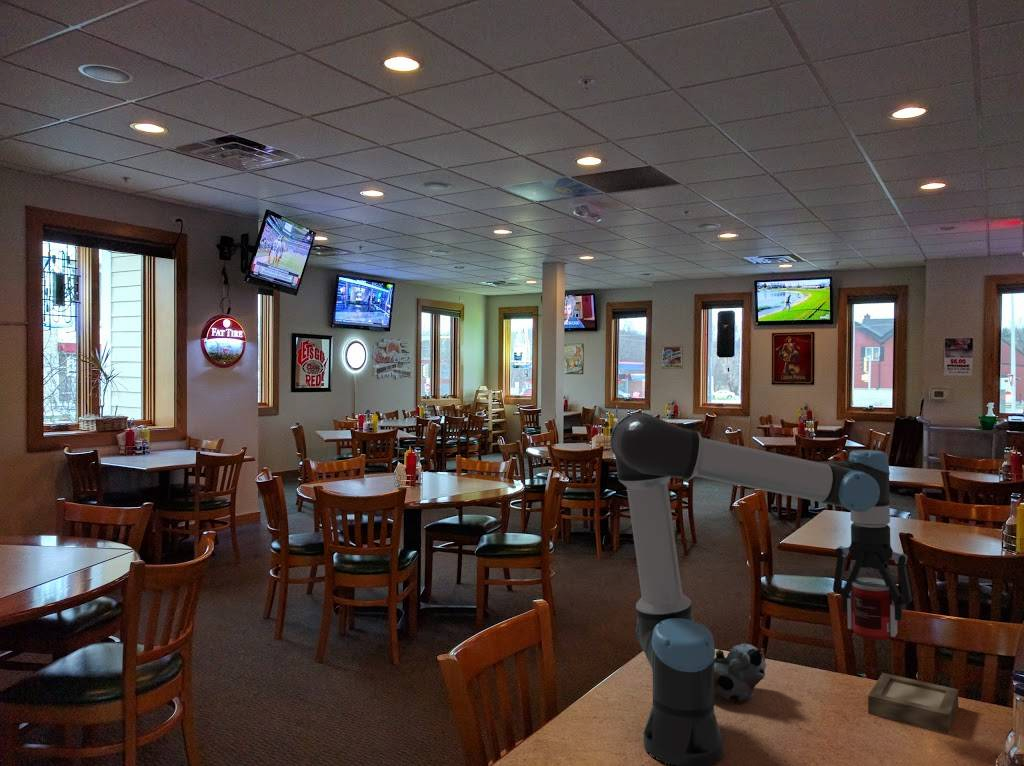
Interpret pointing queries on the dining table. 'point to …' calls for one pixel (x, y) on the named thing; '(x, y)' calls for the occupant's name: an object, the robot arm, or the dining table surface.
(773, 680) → the dining table surface
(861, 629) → the canned food
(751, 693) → the lucky cat figurine
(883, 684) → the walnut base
